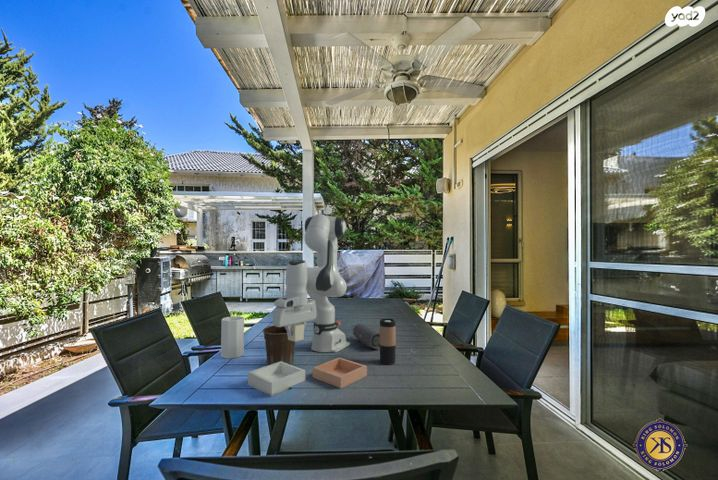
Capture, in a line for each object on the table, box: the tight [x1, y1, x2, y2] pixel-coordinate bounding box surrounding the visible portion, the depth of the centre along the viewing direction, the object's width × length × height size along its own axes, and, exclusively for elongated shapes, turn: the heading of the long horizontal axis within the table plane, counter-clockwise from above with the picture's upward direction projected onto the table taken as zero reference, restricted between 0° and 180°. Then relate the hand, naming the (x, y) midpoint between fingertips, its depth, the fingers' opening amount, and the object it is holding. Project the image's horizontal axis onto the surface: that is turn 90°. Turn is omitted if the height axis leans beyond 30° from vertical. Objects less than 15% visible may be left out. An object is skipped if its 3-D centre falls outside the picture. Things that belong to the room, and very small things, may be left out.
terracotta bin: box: [312, 357, 368, 389], centre depth 135 cm, size 16×16×5 cm
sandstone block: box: [288, 323, 305, 343], centre depth 131 cm, size 4×4×6 cm
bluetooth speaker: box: [352, 323, 380, 349], centre depth 181 cm, size 23×9×10 cm, turn 25°
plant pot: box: [262, 325, 296, 366], centre depth 153 cm, size 16×16×16 cm
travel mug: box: [379, 318, 397, 366], centre depth 154 cm, size 8×8×20 cm
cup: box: [220, 315, 245, 360], centre depth 163 cm, size 11×11×18 cm
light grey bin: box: [247, 361, 306, 397], centre depth 129 cm, size 16×16×5 cm
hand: (295, 334), depth 131 cm, fingers closed on sandstone block, 4 cm apart
